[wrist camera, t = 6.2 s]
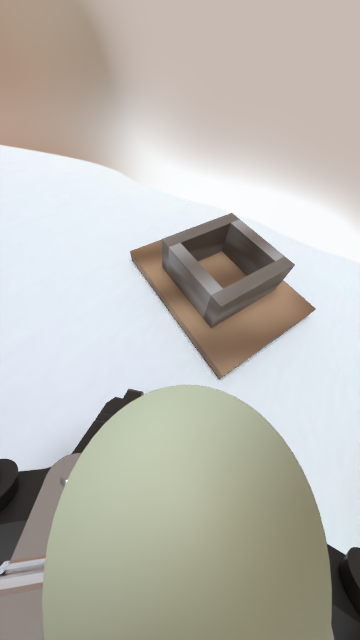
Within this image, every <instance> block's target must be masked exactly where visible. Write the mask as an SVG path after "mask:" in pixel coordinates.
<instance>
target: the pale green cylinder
mask: <svg viewBox="0 0 360 640" xmlns="http://www.w3.org/2000/svg"><path fill="white" fill-rule="evenodd" d="M42 610H43V630H44V639H45V640H329V638H330V628H331V618H332V585H331V573H330V561H329V555H328V549H327V543H326V537H325V532H324V529H323V525H322V521H321V517H320V513H319V510H318V507H317V504H316V501H315V498H314V495H313V493H312V490H311V487H310V485H309V483H308V481H307V479H306V476H305V474H304V472H303V470H302V468H301V466H300V465H299V463H298V461H297V459H296V457H295V456H294V454H293V452H292V451H291V449H290V448H289V447H288V445H287V444H286V442H285V441H284V439H283V438H282V437H281V436H280V434H279V433H278V432H277V431H276V430H275V428H274V427H273V426H272V425H271V424H270V423H269V422H268V421H267V420H266V419H265V418H264V417H263V416H262V415H261V414H260V413H258V412H257V411H256V410H254V409H253V408H252V407H250V406H249V405H248V404H246V403H245V402H243V401H241V400H240V399H238V398H236V397H235V396H232V395H230V394H228V393H225V392H223V391H220V390H217V389H213V388H210V387H205V386H198V385H178V386H170V387H166V388H162V389H158V390H155V391H152V392H150V393H147V394H145V395H143V396H141V397H139V398H137V399H136V400H134V401H132V402H130V403H129V404H127V405H126V406H125V407H123V408H122V409H121V410H119V411H118V412H117V413H116V414H115V415H113V416H112V417H111V418H110V419H109V420H108V421H107V422H106V423H105V424H104V425H103V426H102V427H101V429H100V430H99V431H98V432H97V433H96V434H95V435H94V437H93V438H92V439H91V441H90V442H89V444H88V445H87V446H86V448H85V449H84V451H83V452H82V454H81V455H80V457H79V459H78V461H77V463H76V464H75V466H74V468H73V470H72V471H71V473H70V476H69V478H68V480H67V483H66V485H65V487H64V489H63V492H62V494H61V497H60V500H59V503H58V506H57V509H56V512H55V515H54V518H53V522H52V527H51V531H50V535H49V539H48V544H47V551H46V558H45V565H44V573H43V594H42Z"/></svg>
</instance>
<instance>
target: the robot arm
mask: <svg viewBox="0 0 360 640" xmlns="http://www.w3.org/2000/svg"><path fill="white" fill-rule="evenodd" d="M141 396H143V392H141V391H137V390H132V389H128V391H127V393H126V394H125V396H124V398H123V399H122V398H118V397H115V398H113V399H112V400H110V401H109V402H107V403H106V405H105V406H104V408H103V409H102V410H101V412H100V413H99V415H98V416H97V418H96V420H95V421H94V422H93V424H92V425H91V427H90V428H89V429H88V431H87V432H86V434H85V435H84V437H83V438H82V440H81V441H80V443H79V444H78V446H77V447H76V448H75V450H74V451H73V452H72V454H70V455H68V456H65V457H63V458H62V459H60V460H59V461H57V462H56V463H55V464H54V465H53V466H52V467H50V468H46V469H39V470H30V471H20V472H18V467H17V465H16V463H15V462H14V461H12V460H9V459H0V566H1V565H2V563H3V562H4V561H8V560H10V562H9V564H8V566H7V568H6V570H5V571H4V572H3V573H2V574H0V640H45V639H44V630H43V610H42V594H43V573H44V565H45V558H46V551H47V544H48V539H49V535H50V531H51V527H52V522H53V518H54V515H55V512H56V509H57V506H58V503H59V500H60V497H61V494H62V492H63V489H64V487H65V485H66V483H67V480H68V478H69V476H70V473H71V471H72V470H73V468H74V466H75V464H76V463H77V461H78V459H79V457H80V455H81V454H82V452H83V451H84V449H85V448H86V446H87V445H88V444H89V442H90V441H91V439H92V438H93V437H94V435H95V434H96V433H97V432H98V431H99V430H100V429H101V427H102V426H103V425H104V424H105V423H106V422H107V421H108V420H109V419H110V418H111V417H112V416H113V415H115V414H116V413H117V412H118V411H119V410H121V409H122V408H123V407H125V406H126V405H127V404H129V403H130V402H132V401H134V400H136V399H137V398H139V397H141ZM327 549H328V555H329V561H330V573H331V585H332V618H331V628H330V638H329V640H360V548H358V547H353V548H351V549H350V550H349V551H348V553H347V554H346V555H345V554H343V553H341V552H340V551H338V550H336V549H335V548H333V547H331V546H330V545H328V544H327Z"/></svg>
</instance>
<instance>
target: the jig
mask: <svg viewBox="0 0 360 640" xmlns="http://www.w3.org/2000/svg"><path fill="white" fill-rule="evenodd" d="M130 253H131V258H132V261H133V262H134V263H135V265H136V266H137V267H138V269H139V270H140V271H141V273H142V274H143V276H144V277H145V278H146V280H147V281H148V282H149V284H150V285H151V287H152V288H153V289H154V291H155V292H156V293H157V295H158V296H159V298H160V299H161V300H162V302H163V303H164V304H165V306H166V307H167V308H168V310H169V311H170V313H171V314H172V315H173V317H174V318H175V319H176V321H177V322H178V324H179V325H180V326H181V328H182V329H183V330H184V332H185V333H186V335H187V336H188V337H189V339H190V340H191V341H192V343H193V344H194V345H195V347H196V348H197V350H198V351H199V352H200V354H201V355H202V356H203V358H204V359H205V361H206V362H207V363H208V365H209V366H210V367H211V369H212V370H213V372H214V373H215V374H216V376H217V377H218V378H219V379H220V378H222V377H223V376H224V375H226V374H227V373H229V372H230V371H231V370H233V369H234V368H236V367H237V366H238V365H240V364H241V363H243V362H244V361H245V360H247V359H248V358H249V357H251V356H252V355H254V354H255V353H256V352H258V351H259V350H261V349H262V348H263V347H265V346H266V345H268V344H269V343H270V342H272V341H273V340H274V339H276V338H277V337H279V336H280V335H281V334H283V333H284V332H286V331H287V330H288V329H290V328H291V327H292V326H294V325H295V324H297V323H298V322H299V321H301V320H302V319H304V318H305V317H306V316H308V315H309V314H310V313H312V312H313V311H314V310H315V308H314V307H313V306H312V305H311V304H310V303H308V302H307V301H306V300H305V299H304V298H303V297H302V296H301V295H299V294H298V293H297V292H296V291H295V290H294V289H293V288H292V287H290V286H289V285H288V284H287V283H286V282H285V281H284V280H283V279H284V278H285V277H286V275H287V274H288V273H289V272H290V270H291V269H292V268H293V267H294V264H293V263H292V262H291V261H290V260H288V259H287V258H286V257H285V256H284V255H282V254H281V253H280V252H279V251H277V250H276V249H275V248H274V247H273V246H271V245H270V244H269V243H268V242H267V241H265V240H264V239H263V238H262V237H260V236H259V235H258V234H257V233H256V232H254V231H253V230H252V229H251V228H249V227H248V226H247V225H246V224H245V223H243V222H242V221H241V220H240V219H239V218H237V217H236V216H235V215H234V214H232V213H231V214H228V215H225V216H222V217H220V218H217V219H214V220H212V221H209V222H206V223H204V224H201V225H198V226H196V227H193V228H190V229H188V230H185V231H182V232H180V233H177V234H174V235H172V236H169V237H166V238H164V239H162V240H159V241H157V242H154V243H151V244H149V245H146V246H143V247H141V248H138V249H135V250H132V251H130Z"/></svg>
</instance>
